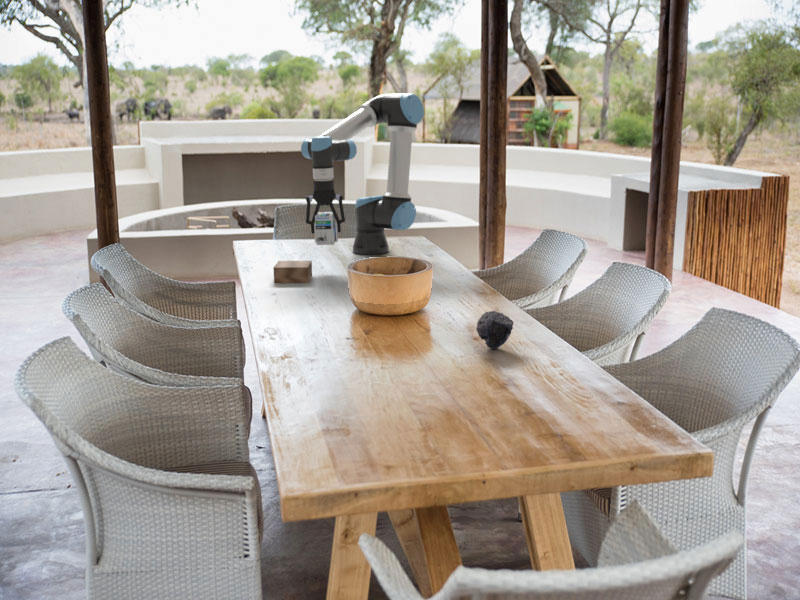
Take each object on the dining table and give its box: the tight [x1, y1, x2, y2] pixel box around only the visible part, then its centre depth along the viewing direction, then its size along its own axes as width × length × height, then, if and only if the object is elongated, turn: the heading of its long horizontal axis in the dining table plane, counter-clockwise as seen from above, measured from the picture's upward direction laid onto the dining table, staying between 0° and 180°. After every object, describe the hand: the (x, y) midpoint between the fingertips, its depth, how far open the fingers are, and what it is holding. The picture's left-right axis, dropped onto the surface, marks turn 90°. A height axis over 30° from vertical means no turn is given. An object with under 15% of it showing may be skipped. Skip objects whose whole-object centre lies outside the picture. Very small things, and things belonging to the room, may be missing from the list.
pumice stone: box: [475, 310, 514, 350], centre depth 214 cm, size 10×8×10 cm
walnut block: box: [273, 260, 313, 284], centre depth 298 cm, size 12×12×6 cm
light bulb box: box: [314, 211, 337, 246], centre depth 308 cm, size 11×7×11 cm, turn 179°
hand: (326, 241), depth 309 cm, fingers closed on light bulb box, 7 cm apart
